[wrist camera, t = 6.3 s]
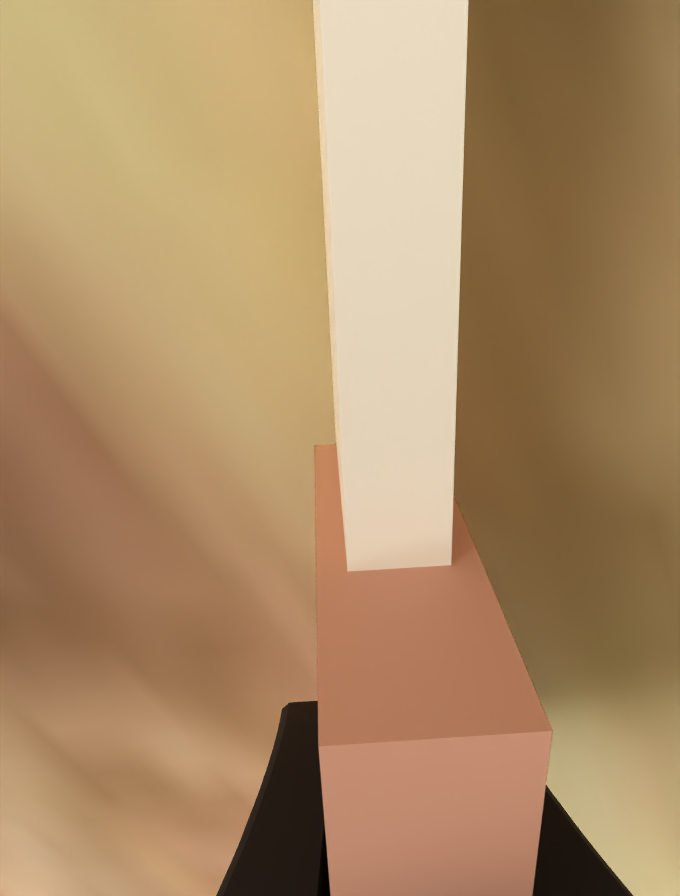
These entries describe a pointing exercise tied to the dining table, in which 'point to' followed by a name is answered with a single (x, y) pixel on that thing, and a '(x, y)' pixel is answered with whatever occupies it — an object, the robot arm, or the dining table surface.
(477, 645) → the cream pillar on pink
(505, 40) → the dining table surface
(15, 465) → the dining table surface
